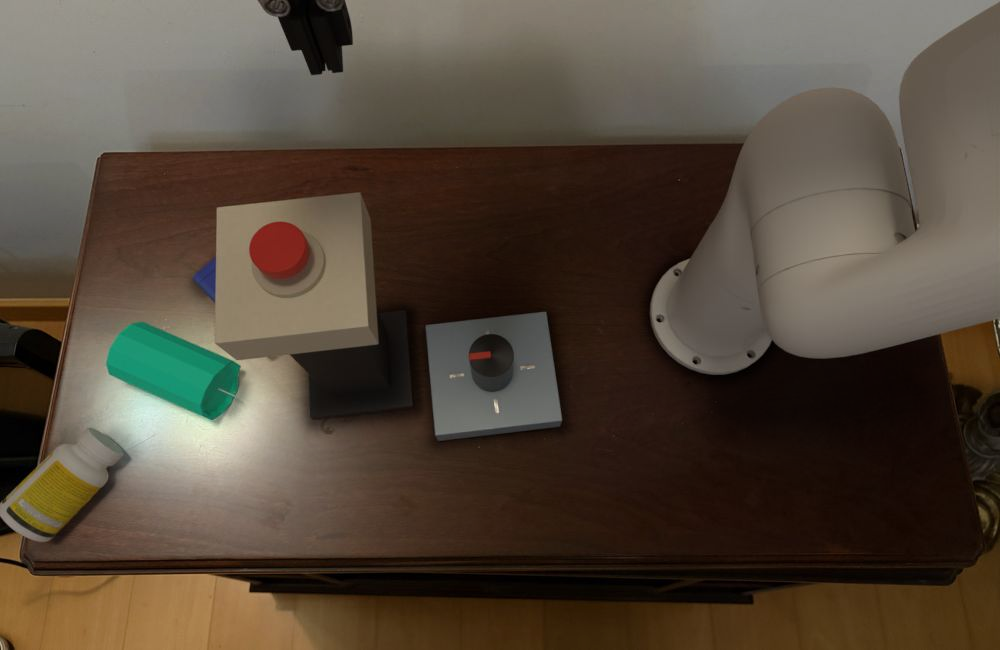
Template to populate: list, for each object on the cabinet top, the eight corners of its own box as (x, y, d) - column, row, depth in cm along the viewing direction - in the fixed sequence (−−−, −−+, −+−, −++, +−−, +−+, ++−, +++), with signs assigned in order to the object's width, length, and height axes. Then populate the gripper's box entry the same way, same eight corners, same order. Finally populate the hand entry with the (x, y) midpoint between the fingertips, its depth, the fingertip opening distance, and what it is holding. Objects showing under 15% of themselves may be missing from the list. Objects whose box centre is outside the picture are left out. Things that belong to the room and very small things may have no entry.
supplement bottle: (56, 551, 64) (138, 467, 66) (2, 530, 60) (91, 441, 62) (40, 519, 68) (118, 439, 70) (-11, 497, 64) (73, 413, 66)
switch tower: (407, 313, 73) (358, 187, 49) (414, 408, 70) (366, 323, 46) (310, 324, 73) (213, 202, 49) (313, 420, 69) (210, 340, 45)
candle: (136, 378, 72) (239, 424, 70) (96, 378, 66) (208, 428, 64) (159, 324, 72) (263, 368, 70) (122, 318, 66) (234, 366, 64)
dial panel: (544, 321, 73) (546, 310, 70) (560, 426, 69) (562, 420, 66) (428, 334, 72) (425, 324, 69) (437, 441, 69) (434, 435, 66)
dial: (510, 349, 69) (510, 330, 63) (515, 389, 67) (516, 373, 62) (469, 354, 68) (466, 335, 63) (473, 394, 67) (470, 378, 62)
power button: (309, 226, 47) (304, 218, 46) (311, 276, 46) (306, 269, 44) (254, 232, 47) (248, 224, 45) (255, 282, 45) (248, 275, 44)
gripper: (-151, -312, 17) (177, 128, 35) (455, -362, 18) (479, 97, 35) (-102, -485, 20) (181, 7, 37) (430, -525, 20) (464, -20, 38)
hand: (326, 50), depth 36 cm, fingers closed
